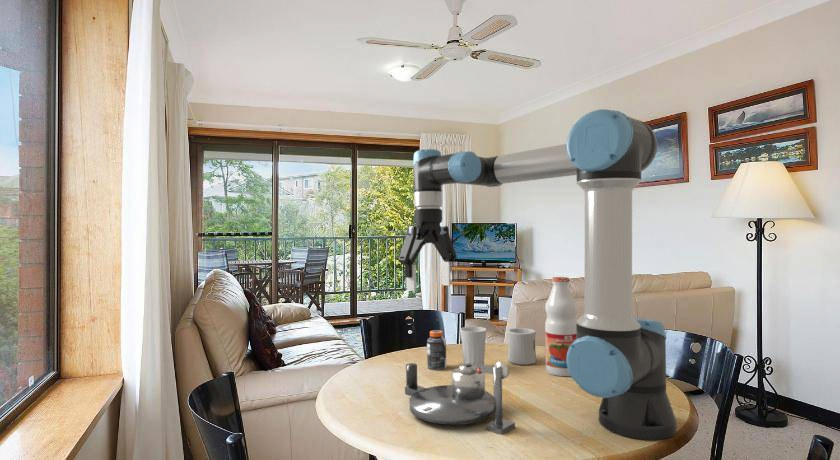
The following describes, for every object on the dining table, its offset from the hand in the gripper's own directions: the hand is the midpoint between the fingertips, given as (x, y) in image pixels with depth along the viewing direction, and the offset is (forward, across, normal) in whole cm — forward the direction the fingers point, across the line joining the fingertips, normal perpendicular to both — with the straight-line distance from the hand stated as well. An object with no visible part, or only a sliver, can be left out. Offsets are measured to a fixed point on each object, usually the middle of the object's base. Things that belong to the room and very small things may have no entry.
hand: (429, 287), depth 126 cm
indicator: (+27, +8, +26) cm, 39 cm away
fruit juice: (+28, -37, +19) cm, 50 cm away
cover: (+24, +2, +14) cm, 28 cm away
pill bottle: (+27, -16, -12) cm, 34 cm away
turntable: (+26, +8, +12) cm, 30 cm away
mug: (+28, -40, +3) cm, 49 cm away
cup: (+27, -23, -4) cm, 36 cm away
